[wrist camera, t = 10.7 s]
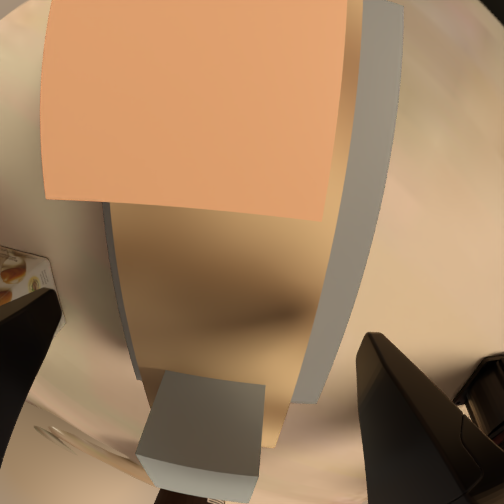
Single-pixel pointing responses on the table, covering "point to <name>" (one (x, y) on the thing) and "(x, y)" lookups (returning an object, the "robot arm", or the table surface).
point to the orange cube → (193, 103)
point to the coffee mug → (183, 498)
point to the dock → (352, 201)
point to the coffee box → (24, 276)
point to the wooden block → (232, 278)
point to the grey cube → (204, 437)
